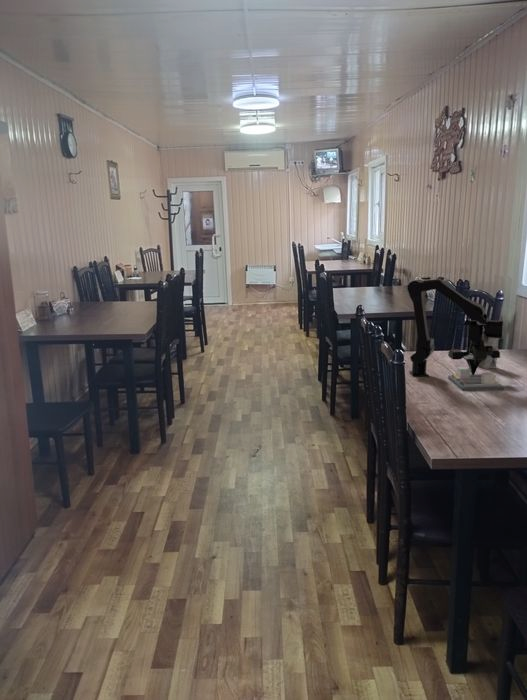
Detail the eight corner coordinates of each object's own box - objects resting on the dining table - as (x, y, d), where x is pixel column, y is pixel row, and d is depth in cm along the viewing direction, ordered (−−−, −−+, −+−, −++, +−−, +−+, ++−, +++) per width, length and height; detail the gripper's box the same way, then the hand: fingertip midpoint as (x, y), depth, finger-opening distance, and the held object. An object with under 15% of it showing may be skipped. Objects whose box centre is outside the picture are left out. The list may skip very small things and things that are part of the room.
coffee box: (470, 364, 251) (473, 328, 247) (481, 362, 253) (484, 327, 249) (485, 369, 243) (488, 332, 239) (497, 367, 245) (500, 331, 241)
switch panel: (448, 378, 229) (448, 374, 229) (487, 378, 229) (487, 373, 229) (462, 390, 214) (462, 385, 213) (504, 389, 214) (504, 384, 213)
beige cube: (480, 382, 218) (481, 372, 218) (491, 382, 218) (492, 372, 218) (484, 385, 215) (485, 375, 214) (494, 385, 215) (495, 375, 214)
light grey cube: (456, 376, 227) (457, 367, 226) (466, 376, 227) (467, 367, 226) (460, 379, 224) (460, 369, 223) (470, 379, 224) (470, 369, 223)
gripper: (458, 341, 214) (456, 381, 217) (507, 340, 214) (504, 379, 217) (448, 335, 225) (446, 373, 228) (495, 334, 225) (492, 371, 228)
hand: (472, 374), depth 225 cm, fingers closed
